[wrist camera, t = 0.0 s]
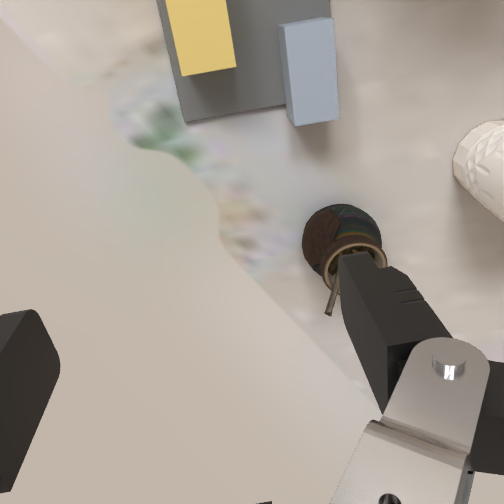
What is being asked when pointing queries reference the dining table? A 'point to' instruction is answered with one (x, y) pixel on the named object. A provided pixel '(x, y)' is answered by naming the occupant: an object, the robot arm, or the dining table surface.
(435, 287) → the dining table surface
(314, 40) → the blue block
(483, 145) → the white cup
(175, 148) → the dining table surface
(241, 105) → the mat
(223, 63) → the mustard block
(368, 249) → the mate gourd
